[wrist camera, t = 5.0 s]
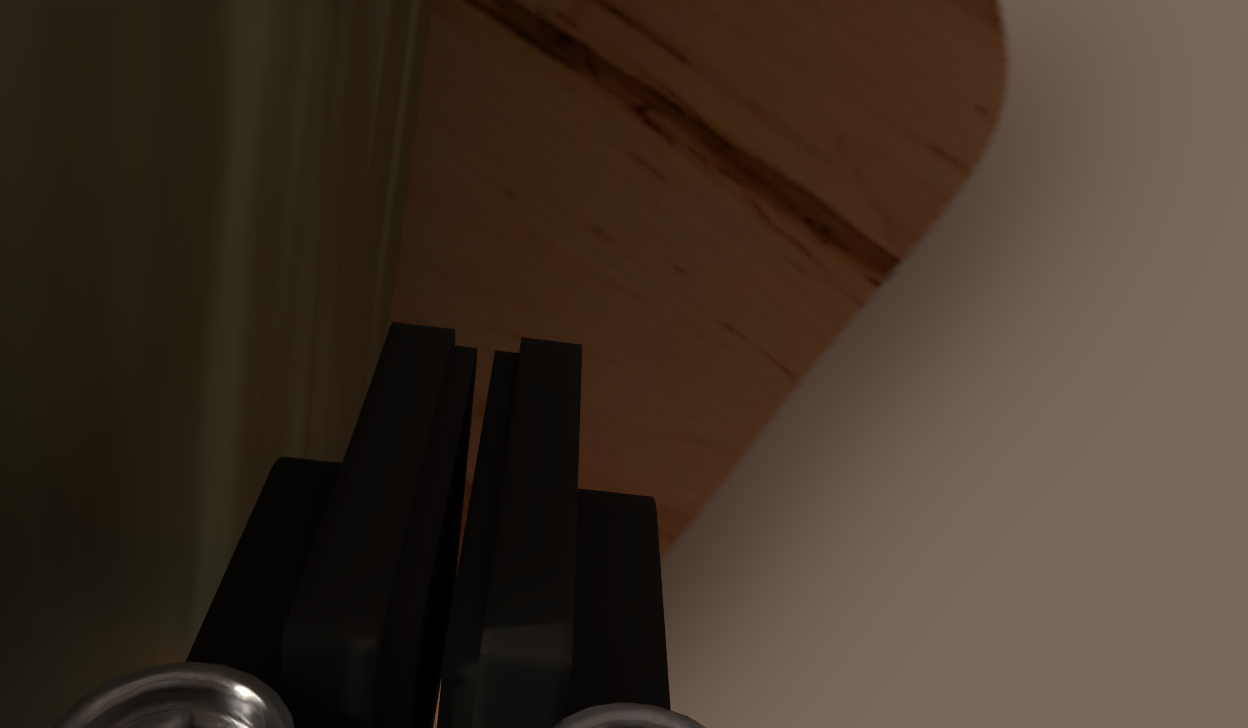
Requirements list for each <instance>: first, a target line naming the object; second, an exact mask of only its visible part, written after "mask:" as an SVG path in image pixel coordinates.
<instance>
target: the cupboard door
mask: <svg viewBox="0 0 1248 728" xmlns="http://www.w3.org/2000/svg"><path fill="white" fill-rule="evenodd" d="M431 8H432V0H0V728H51V727H52V725H53V724H54V723H55V722H56V721H57V720H58V719H59V718H60V717H61V716H62V715H63V714H64V713H65V712H66V711H67V710H68V709H69V708H70V707H71V706H72V705H73V704H74V703H75V702H76V701H77V700H78V699H79V698H81V697H82V696H84V695H86V694H88V693H89V692H91V691H93V690H94V689H96V688H98V687H99V686H101V685H103V684H104V683H106V682H108V681H110V680H111V679H113V678H116V677H119V676H122V675H125V674H128V673H131V672H134V671H137V670H140V669H143V668H146V667H149V666H155V665H163V664H171V663H179V662H185V661H186V659H187V657H188V655H189V652H190V650H191V648H192V646H193V643H194V641H195V639H196V637H197V634H198V632H199V630H200V628H201V625H202V623H203V621H204V619H205V616H206V614H207V612H208V610H209V607H210V605H211V603H212V601H213V598H214V596H215V594H216V592H217V589H218V587H219V585H220V583H221V580H222V578H223V576H224V574H225V571H226V569H227V567H228V565H229V562H230V560H231V558H232V556H233V553H234V551H235V549H236V547H237V544H238V542H239V540H240V538H241V535H242V533H243V531H244V529H245V526H246V524H247V522H248V520H249V517H250V515H251V513H252V511H253V508H254V506H255V504H256V502H257V499H258V497H259V495H260V493H261V490H262V488H263V486H264V484H265V481H266V479H267V477H268V475H269V472H270V470H271V468H272V467H273V465H274V463H275V461H276V460H277V459H278V458H280V457H282V456H283V457H292V458H301V459H311V460H320V461H329V462H338V463H343V460H344V457H345V454H346V451H347V448H348V445H349V443H350V440H351V437H352V434H353V431H354V428H355V426H356V423H357V420H358V417H359V414H360V411H361V409H362V406H363V403H364V400H365V397H366V394H367V391H368V389H369V386H370V383H371V380H372V377H373V374H374V372H375V369H376V366H377V363H378V360H379V357H380V354H381V352H382V349H383V346H384V343H385V340H386V335H387V328H388V321H389V313H390V306H391V299H392V292H393V284H394V277H395V270H396V262H397V255H398V248H399V241H400V233H401V226H402V219H403V212H404V204H405V197H406V190H407V182H408V175H409V168H410V161H411V153H412V146H413V139H414V131H415V124H416V117H417V110H418V102H419V95H420V88H421V81H422V73H423V66H424V59H425V51H426V44H427V37H428V30H429V22H430V15H431Z"/></svg>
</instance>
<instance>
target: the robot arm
mask: <svg viewBox="0 0 1248 728" xmlns="http://www.w3.org/2000/svg"><path fill="white" fill-rule="evenodd" d="M476 364H477V348H471V347H462V346H455V329H447V328H439V327H430V326H422V325H414V324H405V323H397V322H392V324H391V326H390V329H389V332H388V335H387V337H386V340H385V343H384V346H383V349H382V352H381V354H380V357H379V360H378V363H377V366H376V369H375V372H374V374H373V377H372V380H371V383H370V386H369V389H368V391H367V394H366V397H365V400H364V403H363V406H362V409H361V411H360V414H359V417H358V420H357V423H356V426H355V428H354V431H353V434H352V437H351V440H350V443H349V445H348V448H347V451H346V454H345V457H344V460H343V463H338V462H329V461H320V460H311V459H301V458H292V457H283V456H282V457H280V458H278V459H277V460H276V461H275V463H274V465H273V467H272V468H271V470H270V472H269V475H268V477H267V479H266V481H265V484H264V486H263V488H262V490H261V493H260V495H259V497H258V499H257V502H256V504H255V506H254V508H253V511H252V513H251V515H250V517H249V520H248V522H247V524H246V526H245V529H244V531H243V533H242V535H241V538H240V540H239V542H238V544H237V547H236V549H235V551H234V553H233V556H232V558H231V560H230V562H229V565H228V567H227V569H226V571H225V574H224V576H223V578H222V580H221V583H220V585H219V587H218V589H217V592H216V594H215V596H214V598H213V601H212V603H211V605H210V607H209V610H208V612H207V614H206V616H205V619H204V621H203V623H202V625H201V628H200V630H199V632H198V634H197V637H196V639H195V641H194V643H193V646H192V648H191V650H190V652H189V655H188V657H187V659H186V661H185V662H179V663H171V664H163V665H155V666H149V667H146V668H143V669H140V670H137V671H134V672H131V673H128V674H125V675H122V676H119V677H116V678H113V679H111V680H110V681H108V682H106V683H104V684H103V685H101V686H99V687H98V688H96V689H94V690H93V691H91V692H89V693H88V694H86V695H84V696H82V697H81V698H79V699H78V700H77V701H76V702H75V703H74V704H73V705H72V706H71V707H70V708H69V709H68V710H67V711H66V712H65V713H64V714H63V715H62V716H61V717H60V718H59V719H58V720H57V721H56V722H55V723H54V724H53V725H52V727H51V728H433V725H434V719H435V713H436V707H437V701H438V695H439V690H440V684H441V690H440V701H439V712H438V723H437V728H706V727H704V726H702V725H701V724H699V723H698V722H696V721H694V720H693V719H691V718H690V717H688V716H685V715H682V714H679V713H676V712H673V711H671V710H670V695H669V682H668V667H667V653H666V638H665V624H664V609H663V595H662V580H661V566H660V551H659V537H658V523H657V510H656V503H655V499H654V498H653V497H650V496H641V495H632V494H623V493H614V492H604V491H595V490H586V489H578V463H579V432H580V400H581V369H582V345H581V344H573V343H565V342H556V341H548V340H540V339H531V338H523V337H522V338H521V345H520V353H513V352H505V351H497V350H496V351H495V355H494V361H493V367H492V373H491V378H490V384H489V390H488V396H487V402H486V408H485V414H484V420H483V425H482V431H481V437H480V443H479V449H478V455H477V461H476V467H475V472H474V478H473V484H472V490H471V496H470V502H469V508H468V514H467V520H466V525H465V531H464V537H463V543H462V549H461V555H460V561H459V567H458V572H457V564H458V553H459V543H460V532H461V522H462V511H463V501H464V490H465V480H466V469H467V459H468V448H469V438H470V427H471V417H472V406H473V396H474V385H475V374H476ZM456 574H457V578H456ZM441 678H442V681H441Z"/></svg>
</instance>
